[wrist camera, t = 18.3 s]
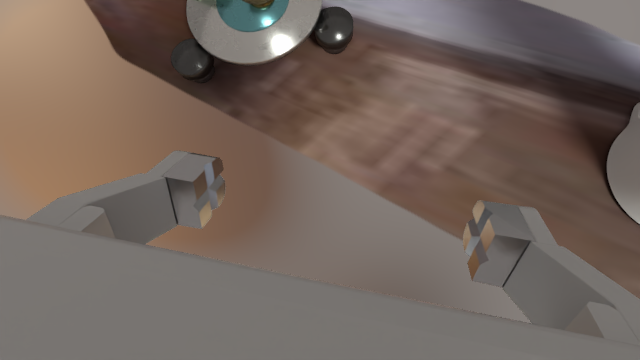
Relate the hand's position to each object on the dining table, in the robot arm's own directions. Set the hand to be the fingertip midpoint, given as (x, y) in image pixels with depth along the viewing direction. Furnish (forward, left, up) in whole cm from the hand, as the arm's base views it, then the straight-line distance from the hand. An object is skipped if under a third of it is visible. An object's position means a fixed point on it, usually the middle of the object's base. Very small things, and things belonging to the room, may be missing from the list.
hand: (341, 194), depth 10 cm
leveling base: (+6, -34, -29) cm, 45 cm away
